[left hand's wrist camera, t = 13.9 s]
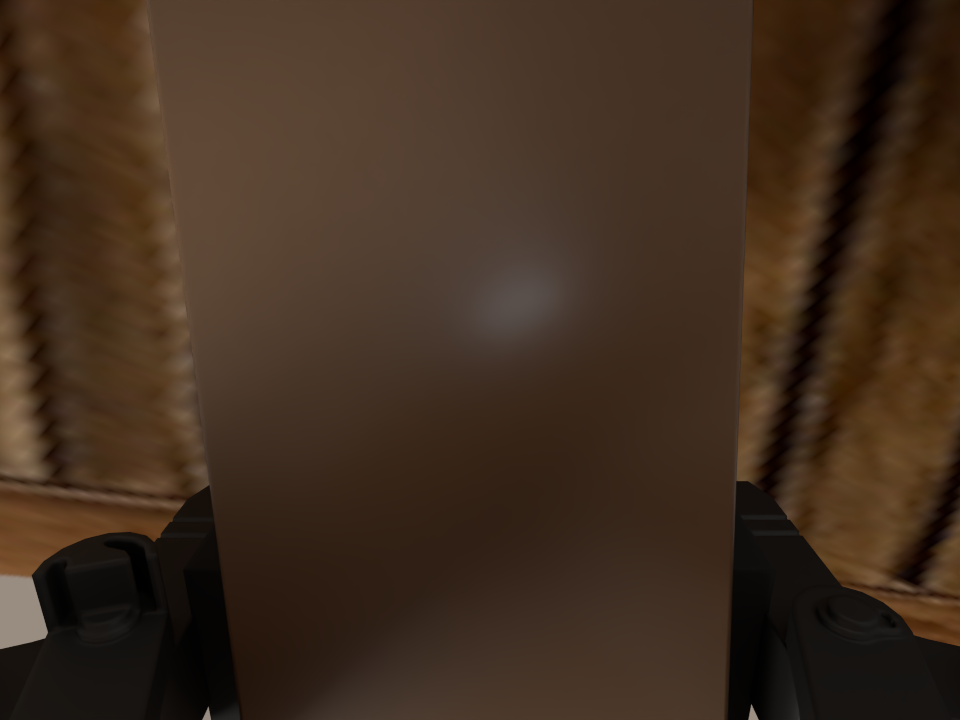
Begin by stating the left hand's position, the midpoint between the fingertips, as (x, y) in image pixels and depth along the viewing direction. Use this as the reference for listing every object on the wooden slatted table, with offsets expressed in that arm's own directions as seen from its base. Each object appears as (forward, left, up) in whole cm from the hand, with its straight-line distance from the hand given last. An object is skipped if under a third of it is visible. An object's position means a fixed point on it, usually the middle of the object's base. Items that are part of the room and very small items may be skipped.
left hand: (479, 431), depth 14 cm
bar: (-7, -1, -3) cm, 8 cm away
